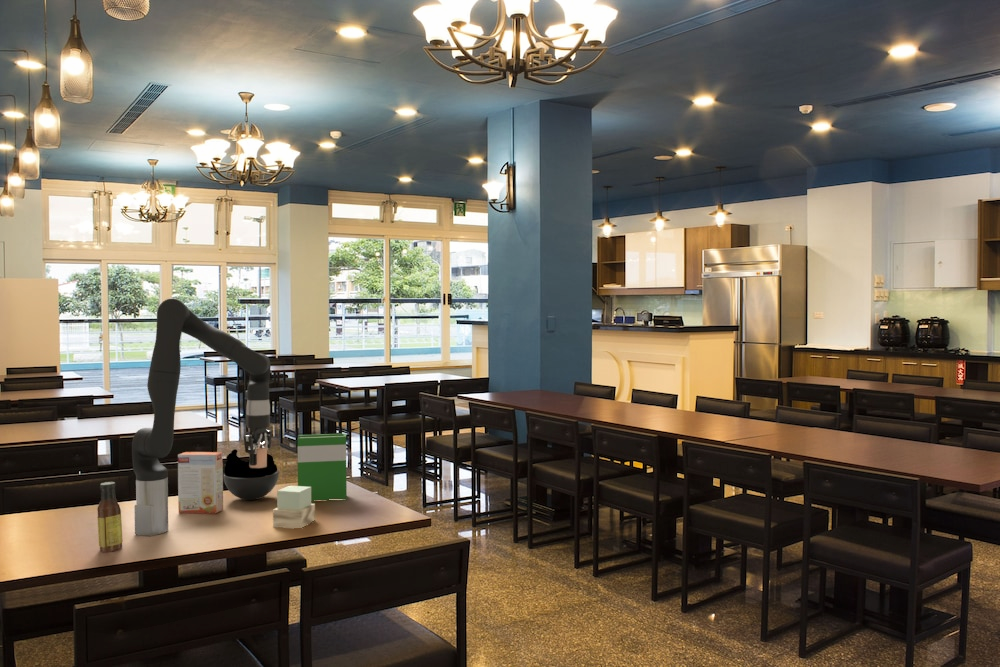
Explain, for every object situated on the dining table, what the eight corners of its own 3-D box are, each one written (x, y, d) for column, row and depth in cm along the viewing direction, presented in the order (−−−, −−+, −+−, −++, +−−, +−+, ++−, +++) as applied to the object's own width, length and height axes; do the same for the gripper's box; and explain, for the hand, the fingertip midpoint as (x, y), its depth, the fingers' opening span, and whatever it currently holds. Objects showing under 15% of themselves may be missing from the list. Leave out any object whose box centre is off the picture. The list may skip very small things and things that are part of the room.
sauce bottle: (126, 546, 228) (125, 480, 228) (116, 552, 222) (115, 485, 221) (104, 546, 228) (103, 480, 228) (93, 553, 222) (92, 485, 221)
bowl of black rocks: (290, 497, 290) (290, 448, 289) (246, 508, 273) (246, 456, 272) (256, 490, 301) (255, 443, 300) (212, 501, 284) (211, 451, 284)
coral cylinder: (261, 468, 251) (261, 450, 251) (246, 467, 252) (246, 449, 252) (269, 465, 256) (269, 447, 256) (255, 464, 258) (255, 447, 258)
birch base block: (301, 529, 247) (301, 511, 247) (273, 527, 249) (273, 509, 249) (315, 521, 257) (315, 503, 256) (287, 519, 259) (287, 502, 259)
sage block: (299, 510, 248) (299, 492, 247) (277, 509, 249) (277, 490, 249) (311, 504, 255) (311, 486, 255) (289, 503, 257) (289, 485, 257)
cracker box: (224, 509, 271) (223, 451, 271) (216, 514, 265) (215, 454, 265) (186, 508, 273) (185, 450, 272) (177, 513, 267) (177, 453, 266)
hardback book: (298, 502, 282) (297, 438, 281) (298, 498, 289) (298, 435, 288) (346, 500, 285) (346, 436, 285) (346, 495, 293) (345, 433, 292)
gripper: (256, 416, 246) (256, 468, 247) (279, 411, 260) (279, 460, 261) (236, 415, 248) (235, 467, 248) (259, 410, 262) (259, 459, 262)
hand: (258, 463), depth 254 cm, fingers closed on coral cylinder, 5 cm apart
